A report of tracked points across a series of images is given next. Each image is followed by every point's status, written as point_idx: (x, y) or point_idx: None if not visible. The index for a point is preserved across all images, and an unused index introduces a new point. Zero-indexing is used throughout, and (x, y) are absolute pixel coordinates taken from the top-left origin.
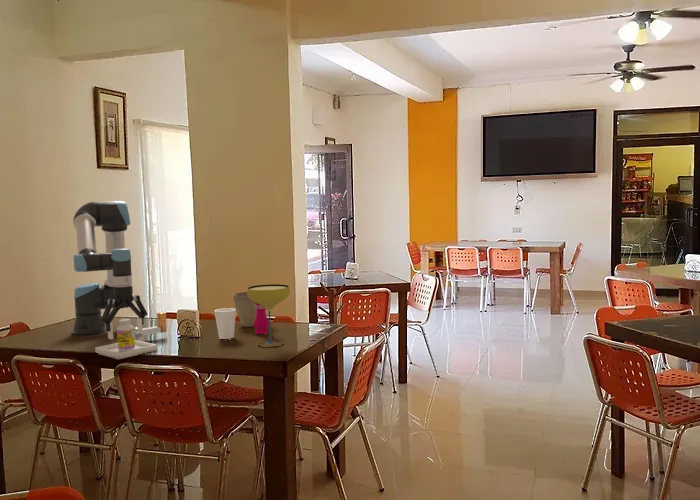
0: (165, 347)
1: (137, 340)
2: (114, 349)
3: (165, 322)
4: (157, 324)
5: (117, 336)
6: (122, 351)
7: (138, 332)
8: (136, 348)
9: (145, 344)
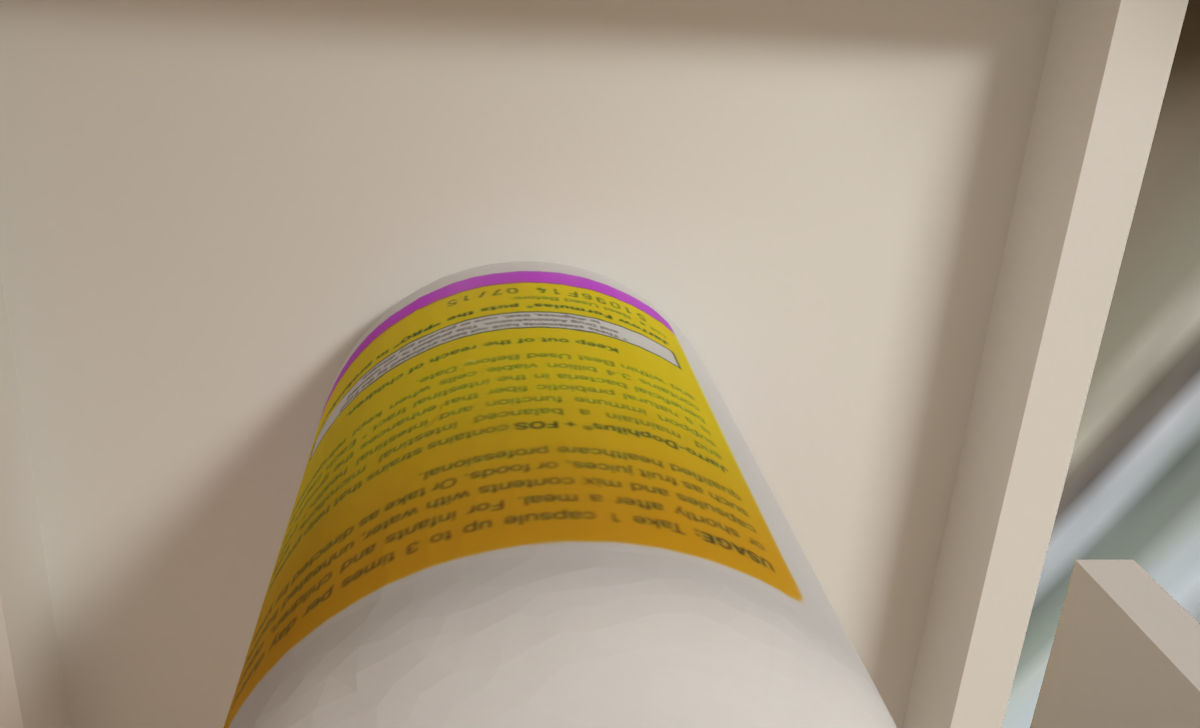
0: None
1: (1145, 138)
2: (375, 107)
3: None
4: None
5: (271, 578)
6: None
7: (1072, 617)
8: None
9: (969, 556)
